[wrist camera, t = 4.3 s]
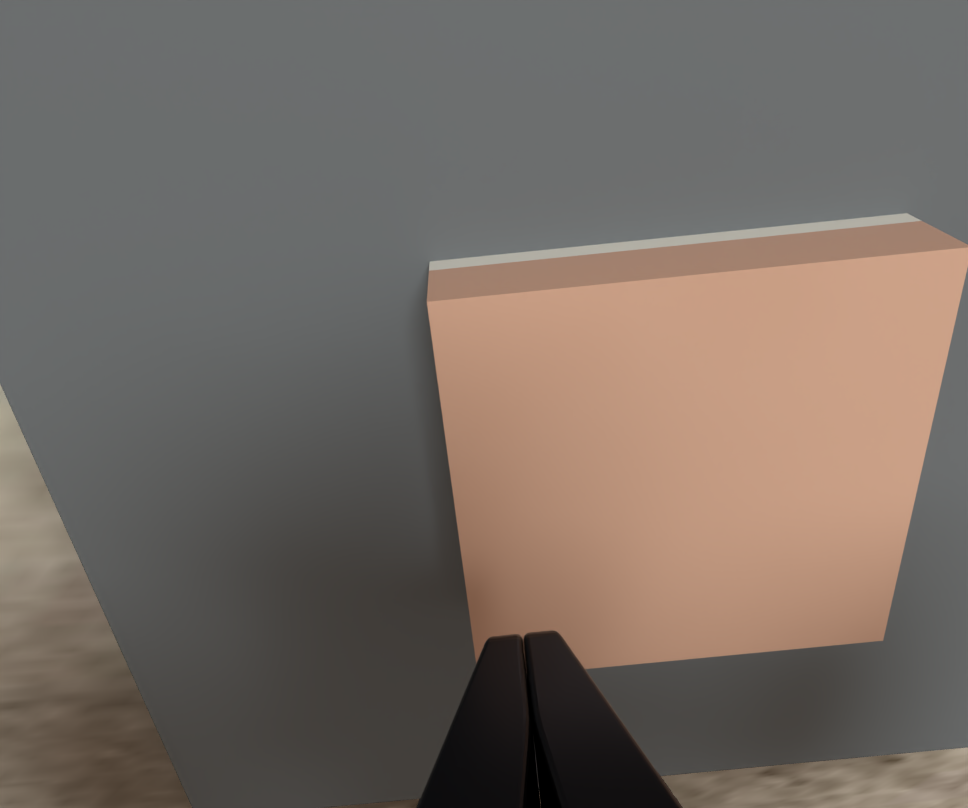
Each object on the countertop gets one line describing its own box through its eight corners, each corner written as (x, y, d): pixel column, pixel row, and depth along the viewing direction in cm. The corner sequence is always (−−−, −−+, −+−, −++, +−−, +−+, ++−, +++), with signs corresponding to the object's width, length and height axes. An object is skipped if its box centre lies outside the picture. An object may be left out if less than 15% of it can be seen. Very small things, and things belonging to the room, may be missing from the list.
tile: (475, 612, 15) (841, 577, 15) (478, 679, 13) (882, 640, 13) (429, 261, 11) (906, 213, 11) (426, 302, 10) (971, 247, 10)
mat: (974, 722, 18) (991, 744, 17) (205, 794, 18) (197, 819, 17) (1315, -301, 9) (1370, -319, 8) (-200, -138, 9) (-240, -145, 9)
